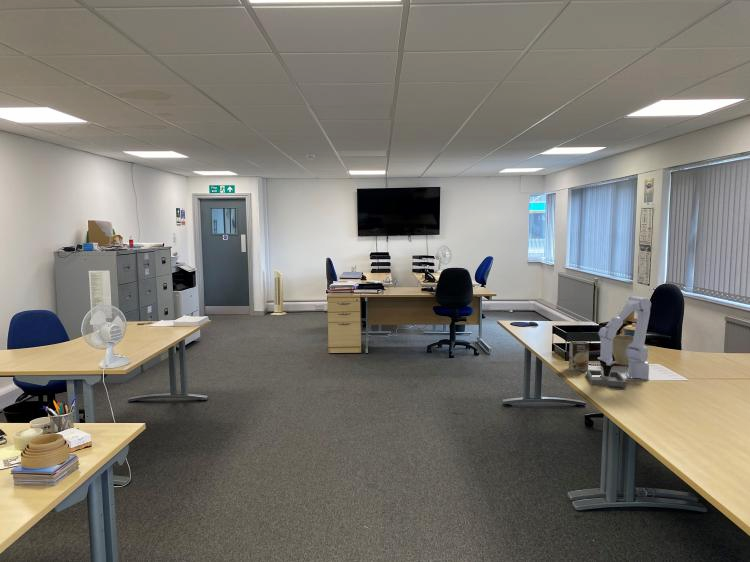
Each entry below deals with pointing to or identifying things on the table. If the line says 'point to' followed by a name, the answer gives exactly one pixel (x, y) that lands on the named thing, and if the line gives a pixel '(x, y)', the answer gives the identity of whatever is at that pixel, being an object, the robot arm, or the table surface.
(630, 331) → the canister
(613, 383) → the tray
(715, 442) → the table surface
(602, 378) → the cylinder
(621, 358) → the plant pot
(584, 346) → the coffee box
